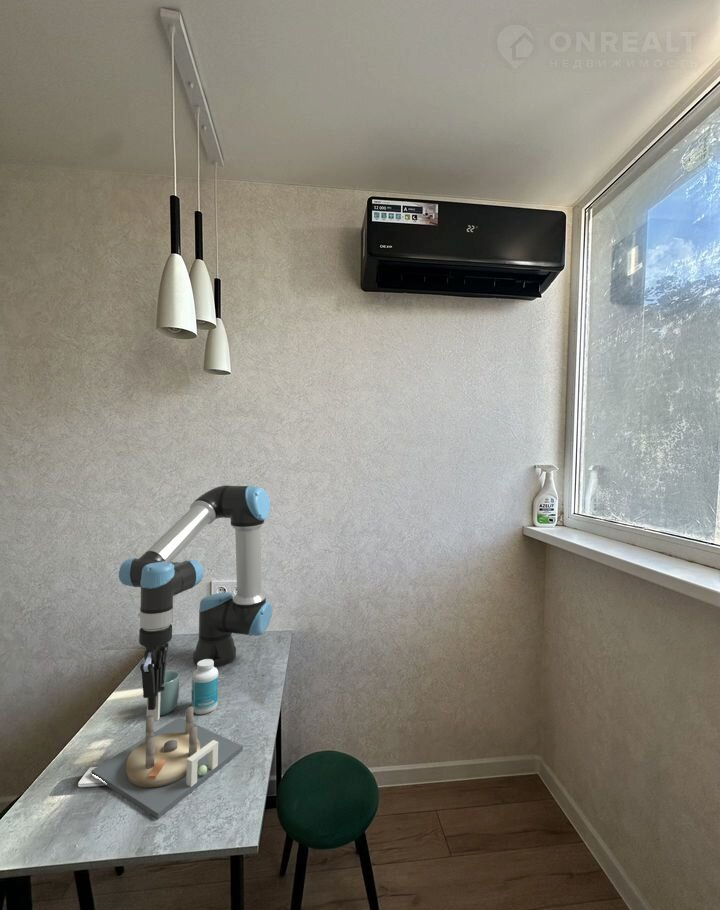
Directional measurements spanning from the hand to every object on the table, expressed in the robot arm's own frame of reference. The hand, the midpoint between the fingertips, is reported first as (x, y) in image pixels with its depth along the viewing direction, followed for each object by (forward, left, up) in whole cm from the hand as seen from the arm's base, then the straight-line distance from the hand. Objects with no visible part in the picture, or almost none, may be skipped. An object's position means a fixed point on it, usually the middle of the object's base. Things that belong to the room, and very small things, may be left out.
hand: (153, 719), depth 107 cm
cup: (-13, -13, -8) cm, 20 cm away
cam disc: (+1, +7, -7) cm, 10 cm away
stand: (0, +7, -8) cm, 11 cm away
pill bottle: (-20, -4, -8) cm, 22 cm away
